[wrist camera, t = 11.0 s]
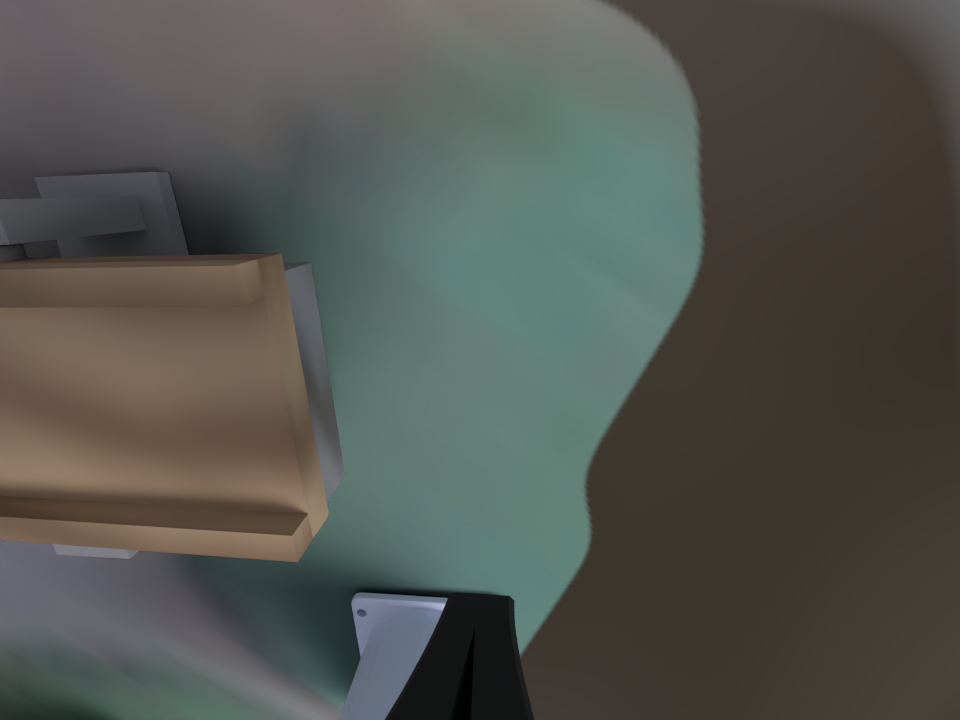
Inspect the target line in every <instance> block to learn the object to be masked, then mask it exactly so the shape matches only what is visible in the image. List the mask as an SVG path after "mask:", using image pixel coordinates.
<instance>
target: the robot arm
mask: <svg viewBox="0 0 960 720" xmlns="http://www.w3.org/2000/svg"><path fill="white" fill-rule="evenodd" d="M351 606H352V611H353V617H354V623H355V628H356V634H357V640H358V645H359V651H360V657H361V659H360V662H359V665H358V668H357V670H356V673H355V676H354V679H353V681H352V684H351V687H350V690H349V692H348V695H347V698H346V701H345V703H344V706H343V709H342V712H341V714H340V717H339V720H534V716H533V712H532V708H531V704H530V700H529V696H528V692H527V688H526V684H525V680H524V675H523V671H522V666H521V661H520V655H519V649H518V644H517V637H516V629H515V618H514V600H513V599H512V598H511V597H510V596H502V595H486V594H470V593H452V594H451V595H449V596H448V598H440V597H424V596H409V595H393V594H377V593H357V594H355V595H354V597H353V599H352V602H351Z"/></svg>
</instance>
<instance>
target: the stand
mask: <svg viewBox="0 0 960 720" xmlns="http://www.w3.org/2000/svg"><path fill="white" fill-rule="evenodd" d="M34 179H35V182H36V185H37V188H38V191H39V194H40V197H41V198H31V199H0V245H12V244H21V243H30V242H39V241H48V240H56V243H57V246H58V248H59V251H60V254H61V257H62V258H68V257H119V256H169V255H189V252H188V248H187V244H186V240H185V236H184V232H183V229H182V225H181V221H180V217H179V213H178V209H177V205H176V201H175V197H174V193H173V189H172V185H171V181H170V177H169V173H168V172H138V173H116V174H93V175H71V176H49V177H34ZM52 545H53V547H54V549H55V552H56V554H57V555H71V556H88V557H105V558H122V559H131V558H132V557H133V556H134V555H135V554H136V553H137V552H138V551H139V550H126V549H112V548H98V547H85V546H71V545H58V544H52Z"/></svg>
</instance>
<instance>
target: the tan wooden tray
mask: <svg viewBox="0 0 960 720" xmlns="http://www.w3.org/2000/svg"><path fill="white" fill-rule="evenodd" d="M344 477H345V472H344V465H343V459H342V453H341V447H340V441H339V434H338V428H337V422H336V416H335V410H334V403H333V397H332V391H331V385H330V379H329V372H328V366H327V360H326V354H325V348H324V341H323V335H322V329H321V323H320V317H319V310H318V304H317V298H316V292H315V286H314V279H313V273H312V267H311V263H283V260H282V254H281V253H270V254H220V255H169V256H119V257H68V258H28V257H27V254H26V252H25V249H24V246H23V244H12V245H0V540H3V541H17V542H30V543H44V544H58V545H71V546H85V547H98V548H112V549H126V550H139V551H153V552H166V553H180V554H194V555H207V556H221V557H234V558H248V559H262V560H275V561H289V562H298V561H299V560H300V558H301V557H302V555H303V554H304V552H305V551H306V549H307V547H308V546H309V544H310V543H311V541H312V540H313V538H314V537H315V535H316V534H317V532H318V531H319V529H320V528H321V526H322V524H323V523H324V521H325V520H326V518H327V517H328V515H329V512H328V507H327V502H328V500H329V499H330V497H331V496H332V494H333V493H334V491H335V490H336V489H337V487H338V486H339V484H340V483H341V481H342V480H343V478H344Z"/></svg>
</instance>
